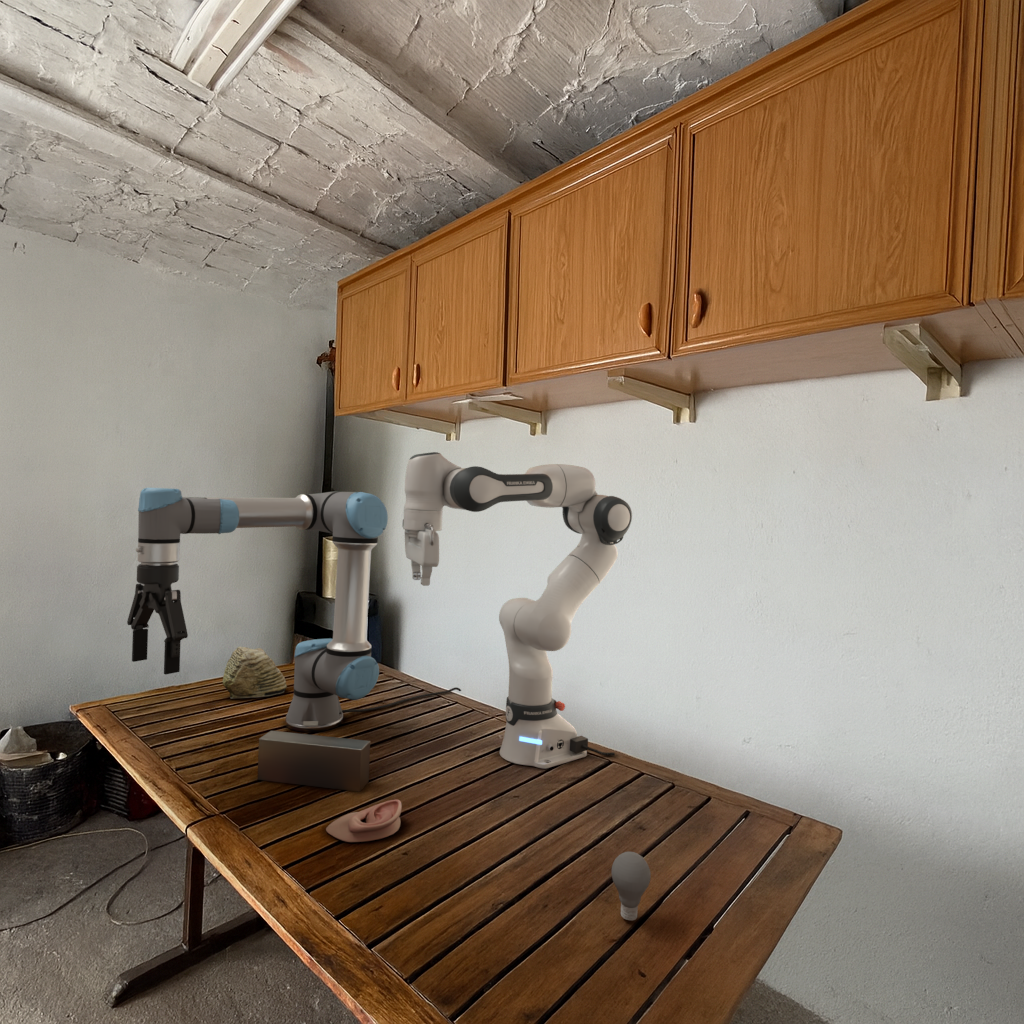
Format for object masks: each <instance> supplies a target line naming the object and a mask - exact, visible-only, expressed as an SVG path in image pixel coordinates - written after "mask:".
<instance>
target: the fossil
mask: <svg viewBox="0 0 1024 1024" xmlns="http://www.w3.org/2000/svg"><path fill="white" fill-rule="evenodd" d="M222 676H223V677H222V685H223V687H224V688H225V690H226V691H228V693H229V698H230V699H250V698H264V697H271V696H275V695H281V694H284V693H285V691H286V689H287V687H288V686H287V680H286V678H285V676H284V674H283V673H282V672H281V669H279V668H278V667H277V665H276V663H275V662H274V660H273V659H272V658H271V657H270V656H269V655H268V654H267V653H266V652H265V650H264V649H263V648H260V647H258V648H251V647H247V646H246V647H245V646H238V647H237V648H236V649H235V650H233V651H232V653H231V656H230V657H229V659H228V660H227V663H226V666H225V668H224V671H223V675H222Z"/></svg>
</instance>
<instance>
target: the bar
mask: <svg viewBox="0 0 1024 1024" xmlns="http://www.w3.org/2000/svg"><path fill="white" fill-rule="evenodd" d="M370 759H371V740H364V739H355V738H345V737H336V736H328V735H327V736H326V735H318V734H317V735H316V734H307V733H300V732H299V733H298V732H289V731H288V732H287V731H280V730H279V731H278V730H270V731H268V732H267V733H265V734H263V736H261V737H259V738H258V754H257V761H258V762H257V781H265V782H272V783H280V784H281V783H282V784H290V785H299V786H307V787H315V788H323V789H331V790H332V789H333V790H342V791H349V792H357V793H360V792H361V791H362V790H363V789H364V788H365V786H367V784H368V783H369V782H370Z"/></svg>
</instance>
